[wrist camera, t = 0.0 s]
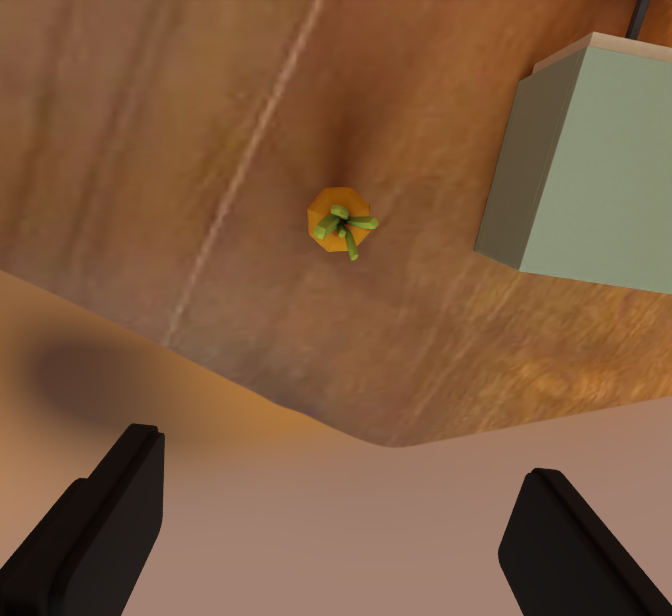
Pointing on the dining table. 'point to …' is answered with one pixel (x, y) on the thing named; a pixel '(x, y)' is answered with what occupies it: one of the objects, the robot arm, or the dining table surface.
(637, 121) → the cabinet
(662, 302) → the dining table surface
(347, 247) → the carrot
